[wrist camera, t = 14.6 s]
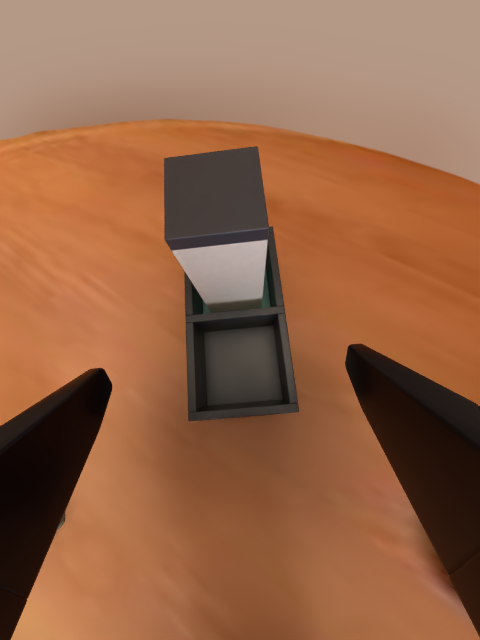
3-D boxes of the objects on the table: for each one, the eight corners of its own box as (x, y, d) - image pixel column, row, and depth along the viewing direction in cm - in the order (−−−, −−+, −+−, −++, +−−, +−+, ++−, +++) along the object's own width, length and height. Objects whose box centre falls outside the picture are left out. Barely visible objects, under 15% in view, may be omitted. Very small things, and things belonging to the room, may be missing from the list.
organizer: (289, 405, 20) (299, 412, 16) (202, 412, 21) (188, 421, 16) (269, 253, 24) (272, 226, 20) (195, 261, 24) (183, 236, 20)
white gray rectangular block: (261, 310, 22) (270, 227, 10) (212, 315, 22) (162, 240, 10) (256, 265, 23) (259, 142, 11) (209, 270, 23) (162, 154, 11)
